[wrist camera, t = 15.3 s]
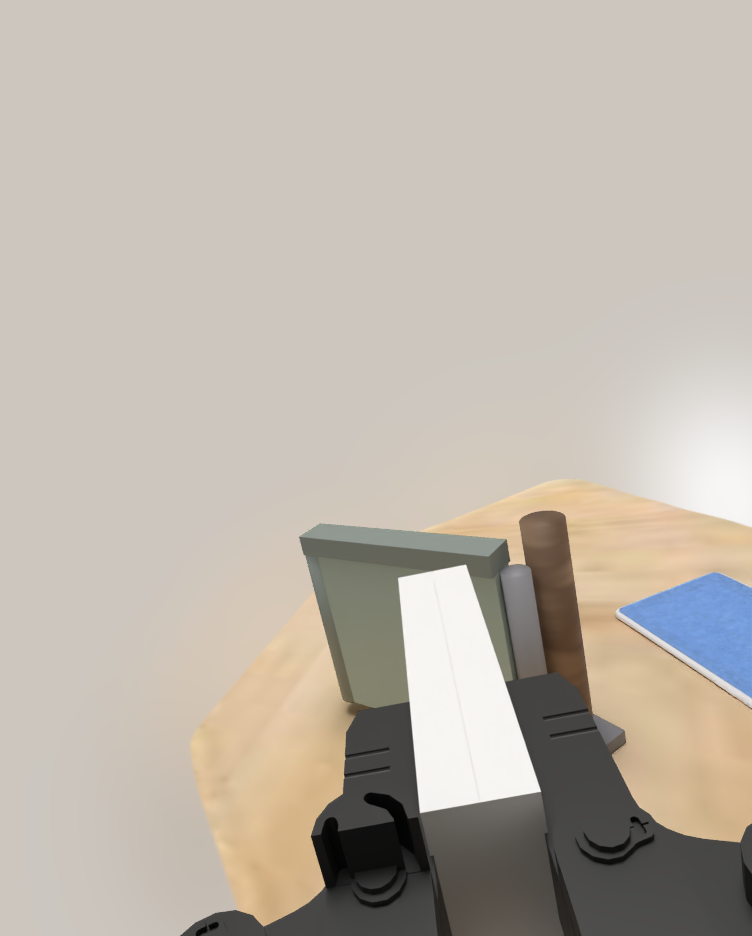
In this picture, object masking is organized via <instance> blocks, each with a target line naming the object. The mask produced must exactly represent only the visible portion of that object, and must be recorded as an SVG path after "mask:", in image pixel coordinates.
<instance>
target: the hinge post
mask: <svg viewBox="0 0 752 936" xmlns="http://www.w3.org/2000/svg"><path fill="white" fill-rule="evenodd" d="M519 524H520V530H521V537H522V543H523V549H524V555H525V562H526V565H527V566H529V567H530V568H531V573H532V580H533V586H534V592H535V599H536V605H537V611H538V618H539V624H540V630H541V637H542V643H543V649H544V656H545V662H546V668H547V674H549V673H555V672H557V673H558V674H560V675H561V676H562V677H564V678H565V679H566V680H568V681H569V682H570V683H572V684H573V685H574V686H576V687H577V688H578V690H579V692H580V694H581V696H582V698H583V700H584V702H585V704H586V706H587V708H588V711H589V713H590V714H591V716H592V718H593V720H594V722H595V724H596V726H597V729H598V731H599V732H600V734H601V736H602V738H603V740H604V742H605V744H606V746H607V748H608V750H609V752H610V754H612V753H613V752H614V751H616V750H617V749H618V748H619V747H620V746H622V745H623V744H624V743H625V742H626V738H625V730H623V729H621V728H619V727H617V726H615V725H613V724H611V723H610V722H608V721H606V720H604V719H602V718H600V717H598V716H596V715H595V714H593V713H592V706H591V698H590V691H589V684H588V677H587V669H586V662H585V655H584V648H583V640H582V633H581V626H580V619H579V611H578V604H577V597H576V590H575V582H574V575H573V568H572V561H571V554H570V546H569V539H568V532H567V525H566V517H565V515H564V514H562V513H560V512H556V511H539V512H534V513H531V514H528V515H526V516H524V517H522V518H521V519H520V521H519Z"/></svg>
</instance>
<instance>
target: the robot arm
mask: <svg viewBox="0 0 752 936" xmlns="http://www.w3.org/2000/svg"><path fill="white" fill-rule="evenodd" d="M398 582H399V593H400V604H401V614H402V625H403V636H404V647H405V657H406V668H407V679H408V690H409V701H410V702H405V703H399V704H394V705H388V706H383V707H378V708H372V709H367V710H362V711H358V713H357V715H356V717H355V718H354V720H353V722H352V724H351V725H350V727H349V729H348V731H347V732H346V748H345V757H346V760H345V767H344V776H345V779H344V786H343V794H342V795H341V796H340V797H338V798H337V799H335V800H334V801H332V802H331V803H329V804H328V805H327V807H326V808H325V809H324V810H323V812H322V813H321V814H320V815H319V817H318V818H317V819H316V822H315V825H314V828H313V831H312V834H311V838H312V841H313V845H314V848H315V852H316V855H317V858H318V862H319V865H320V869H321V872H322V875H323V879H324V882H325V885H326V886H325V887H324V889H323V890H322V891H321V892H320V893H319V894H318V895H317V896H316V897H315V898H314V899H312V900H311V901H310V902H309V903H308V904H306V905H304V906H303V907H301V908H299V909H298V910H296V911H295V912H293V913H291V914H289V915H287V916H285V917H283V918H281V919H279V920H277V921H275V922H273V923H271V924H269V925H266V926H264V927H263V926H262V925H261V924H260V923H259V922H258V921H257V919H256V918H255V917H254V916H253V915H250V914H247V913H243V912H240V911H237V910H234V911H227V912H219V913H215V914H213V915H211V916H209V917H207V918H204V919H203V920H200V921H198V922H196V923H195V924H193V925H192V926H191V927H190V928H189V929H188V930H186V931H185V932H184V933H183V934H182V935H181V936H752V824H750V825H749V826H748V827H746V830H745V832H744V835H743V837H742V840H741V842H740V843H738V842H728V841H719V840H709V839H701V838H696V837H691V836H686V835H683V834H680V833H677V832H675V831H672V830H669V829H667V828H665V827H664V826H662V825H660V824H659V823H657V822H656V821H655V820H654V819H653V818H652V816H651V815H650V814H649V813H647V812H646V811H644V810H642V809H641V808H639V806H638V805H637V803H636V802H635V800H634V799H633V797H632V795H631V793H630V791H629V789H628V787H627V785H626V783H625V781H624V779H623V777H622V775H621V773H620V771H619V769H618V767H617V765H616V764H615V762H614V760H613V758H612V756H611V754H610V752H609V750H608V748H607V746H606V744H605V742H604V740H603V738H602V736H601V734H600V732H599V731H598V729H597V726H596V724H595V722H594V720H593V718H592V716H591V714H590V713H589V711H588V708H587V706H586V704H585V702H584V700H583V698H582V696H581V694H580V692H579V690H578V688H577V687H576V686H574V685H573V684H572V683H570V682H569V681H568V680H566V679H565V678H564V677H562V676H561V675H560V674H558V673H557V672H555V673H549V674H544V675H539V676H533V677H528V678H522V679H517V680H512V681H506V682H505V681H504V678H503V675H502V672H501V669H500V666H499V663H498V660H497V657H496V654H495V651H494V648H493V645H492V642H491V639H490V636H489V633H488V630H487V627H486V624H485V621H484V618H483V615H482V612H481V609H480V606H479V603H478V600H477V597H476V594H475V591H474V588H473V584H472V581H471V578H470V575H469V572H468V569H467V566H466V565H462V566H457V567H452V568H446V569H441V570H436V571H431V572H426V573H421V574H416V575H411V576H406V577H400V578H398Z"/></svg>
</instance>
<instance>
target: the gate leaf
mask: <svg viewBox="0 0 752 936" xmlns="http://www.w3.org/2000/svg"><path fill="white" fill-rule="evenodd" d="M299 538H300V542H301V546H302V550H303V553H304V555H305V556H306V560H307V564H308V567H309V571H310V575H311V579H312V583H313V587H314V591H315V594H316V598H317V602H318V606H319V610H320V614H321V617H322V621H323V625H324V629H325V633H326V637H327V640H328V644H329V648H330V652H331V656H332V660H333V664H334V667H335V671H336V675H337V679H338V683H339V687H340V690H341V694H342V698H343V700H344V701H346V702H350V703H353V702H355V703H358V704H362V705H365V706H368V707H372V708H378V707H383V706H388V705H394V704H399V703H405V702H410V701H409V690H408V679H407V668H406V657H405V647H404V636H403V625H402V614H401V604H400V593H399V582H398V578H400V577H406V576H411V575H416V574H421V573H426V572H431V571H436V570H441V569H446V568H452V567H457V566H462V565H466V566H467V569H468V572H469V575H470V578H471V581H472V584H473V588H474V591H475V594H476V597H477V600H478V603H479V606H480V609H481V612H482V615H483V618H484V621H485V624H486V627H487V630H488V633H489V636H490V639H491V642H492V645H493V648H494V651H495V654H496V657H497V660H498V663H499V666H500V669H501V672H502V675H503V678H504V681H505V682H506V681H512V680H517V679H522V678H528V677H533V676H539V675H544V674H547V668H546V662H545V656H544V649H543V643H542V637H541V630H540V624H539V618H538V611H537V605H536V599H535V592H534V586H533V580H532V573H531V568H530V567H529V566H527V565H522V564H515V565H510V566H509V565H508V563H509V562H510V557H509V551H508V545H507V539H496V538H484V537H472V536H460V535H449V534H437V533H425V532H413V531H402V530H389V529H378V528H366V527H354V526H342V525H331V524H319V525H317V526H316V527H314V528H312V529H311V530H309V531H308V532H306V533H304V534H303V535H301V536H300V537H299Z"/></svg>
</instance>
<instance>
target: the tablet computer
mask: <svg viewBox="0 0 752 936" xmlns="http://www.w3.org/2000/svg"><path fill="white" fill-rule="evenodd" d="M615 616H616V617H617V618H618V619H619V620H621V621H622V622H624V623H626V624H627V625H629V626H630V627H632V628H633V629H635V630H636V631H638V632H639V633H641V634H642V635H644V636H645V637H647V638H649V639H650V640H651V641H653V642H654V643H656V644H657V645H659V646H660V647H662V648H663V649H665V650H666V651H668V652H669V653H671V654H672V655H674V656H675V657H677V658H678V659H680V660H681V661H683V662H684V663H686V664H687V665H689V666H690V667H692V668H693V669H695V670H696V671H698V672H699V673H700V674H702V675H703V676H705V677H706V678H708V679H709V680H711V681H712V682H714V683H715V684H716V685H718V686H719V687H721V688H722V689H724V690H726V691H727V692H728V693H730V694H731V695H732V696H734V697H736V698H737V699H739V700H740V701H741V702H743V703H744V704H745V705H747V706H748V707H750V708H751V709H752V587H750V586H748V585H746V584H744V583H741V582H739V581H737V580H735V579H733V578H731V577H728V576H726V575H724V574H722V573H717V572H713V573H708V574H706V575H703V576H701V577H698V578H695V579H693V580H690V581H688V582H685V583H683V584H680V585H677V586H675V587H672V588H670V589H667V590H665V591H662V592H659V593H657V594H654V595H652V596H649V597H647V598H644V599H641V600H639V601H636V602H634V603H631V604H628V605H626V606H623V607H621V608H619V609H617V611H616V614H615Z"/></svg>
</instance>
